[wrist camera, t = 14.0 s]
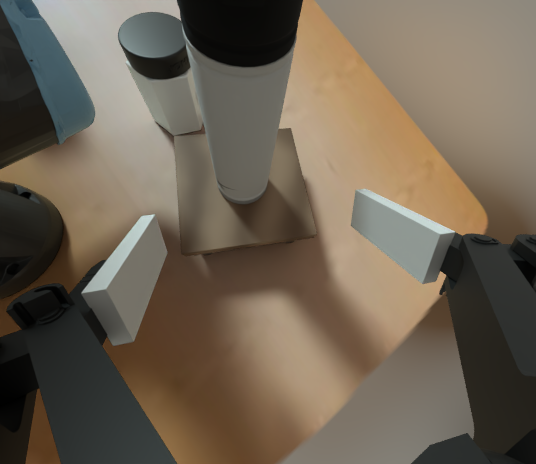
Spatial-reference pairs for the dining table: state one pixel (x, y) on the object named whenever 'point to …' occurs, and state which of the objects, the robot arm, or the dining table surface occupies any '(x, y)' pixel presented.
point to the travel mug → (240, 83)
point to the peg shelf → (239, 215)
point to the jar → (162, 70)
